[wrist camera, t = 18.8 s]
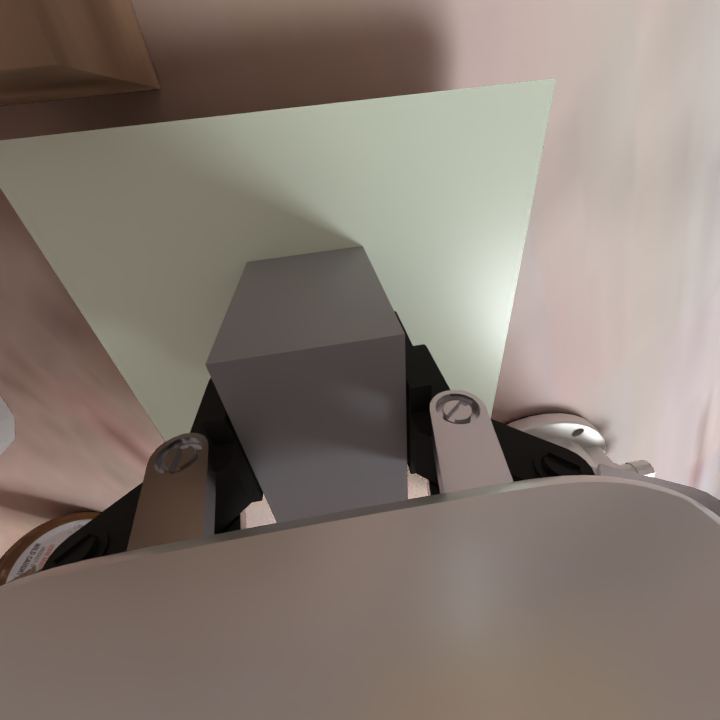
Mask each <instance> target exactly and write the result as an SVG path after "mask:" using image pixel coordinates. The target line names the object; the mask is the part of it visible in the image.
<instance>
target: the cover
mask: <svg viewBox="0 0 720 720" xmlns="http://www.w3.org/2000/svg"><path fill="white" fill-rule="evenodd" d="M555 83H556V78H553V79H544V80H535V81H526V82H518V83H509V84H500V85H491V86H482V87H473V88H464V89H455V90H446V91H437V92H428V93H419V94H410V95H401V96H392V97H384V98H375V99H366V100H357V101H348V102H339V103H330V104H321V105H312V106H303V107H294V108H285V109H276V110H267V111H258V112H249V113H241V114H232V115H223V116H214V117H205V118H196V119H187V120H178V121H169V122H160V123H151V124H142V125H133V126H124V127H115V128H107V129H98V130H89V131H80V132H71V133H62V134H53V135H44V136H35V137H26V138H17V139H8V140H0V189H1V190H2V192H3V193H4V195H5V196H6V198H7V199H8V201H9V202H10V204H11V205H12V207H13V209H14V210H15V212H16V213H17V215H18V216H19V218H20V219H21V221H22V222H23V224H24V225H25V227H26V228H27V230H28V232H29V233H30V235H31V236H32V238H33V239H34V241H35V242H36V244H37V245H38V247H39V248H40V250H41V252H42V253H43V255H44V256H45V258H46V259H47V261H48V262H49V264H50V265H51V267H52V268H53V270H54V272H55V273H56V275H57V276H58V278H59V279H60V281H61V282H62V284H63V285H64V287H65V288H66V290H67V292H68V293H69V295H70V296H71V298H72V299H73V301H74V302H75V304H76V305H77V307H78V308H79V310H80V311H81V313H82V315H83V316H84V318H85V319H86V321H87V322H88V324H89V325H90V327H91V328H92V330H93V331H94V333H95V335H96V336H97V338H98V339H99V341H100V342H101V344H102V345H103V347H104V348H105V350H106V351H107V353H108V355H109V356H110V358H111V359H112V361H113V362H114V364H115V365H116V367H117V368H118V370H119V371H120V373H121V374H122V376H123V378H124V379H125V381H126V382H127V384H128V385H129V387H130V388H131V390H132V391H133V393H134V394H135V396H136V398H137V399H138V401H139V402H140V404H141V405H142V407H143V408H144V410H145V411H146V413H147V414H148V416H149V418H150V419H151V421H152V422H153V424H154V425H155V427H156V428H157V430H158V431H159V433H160V434H161V436H162V438H163V439H164V441H165V442H166V441H168V440H170V439H171V438H173V437H176V436H178V435H181V434H186V433H190V431H191V428H192V425H193V422H194V420H195V417H196V414H197V412H198V409H199V406H200V403H201V401H202V398H203V395H204V393H205V390H206V387H207V384H208V382H209V380H210V378H212V381H213V383H214V385H215V387H216V389H217V392H218V394H219V396H220V398H221V401H222V403H223V405H224V407H225V409H226V412H227V414H228V416H229V418H230V420H231V423H232V425H233V427H234V429H235V431H236V434H237V436H238V438H239V440H240V442H241V445H242V447H243V449H244V451H245V453H246V456H247V458H248V460H249V462H250V464H251V467H252V469H253V471H254V473H255V475H256V478H257V480H258V482H259V484H260V486H261V489H262V491H263V493H264V495H265V497H266V500H267V502H268V504H269V506H270V508H271V511H272V513H273V515H274V517H275V519H276V522H277V523H280V522H285V521H291V520H296V519H302V518H307V517H313V516H318V515H324V514H330V513H335V512H341V511H346V510H352V509H357V508H363V507H368V506H374V505H380V504H385V503H391V502H397V501H402V500H408V487H407V426H406V366H405V333H404V331H403V329H402V327H401V325H400V323H399V320H398V318H397V316H396V314H395V312H394V311H396V312H397V314H398V316H399V318H400V320H401V322H402V324H403V326H404V328H405V330H406V333H407V335H408V337H409V339H410V341H411V343H412V345H413V346H415V345H422V344H425V345H426V346H427V348H428V350H429V351H430V353H431V355H432V357H433V359H434V361H435V362H436V364H437V366H438V368H439V370H440V372H441V373H442V375H443V377H444V379H445V381H446V383H447V384H448V386H449V388H450V390H462V391H465V392H469V393H471V394H473V395H475V396H477V397H478V398H479V399H480V400H482V401H483V403H484V405H485V406H486V408H487V411H488V414H489V417H490V419H491V415H492V410H493V405H494V399H495V394H496V389H497V384H498V379H499V373H500V368H501V363H502V358H503V353H504V347H505V342H506V337H507V332H508V327H509V321H510V316H511V311H512V306H513V301H514V296H515V290H516V285H517V280H518V275H519V270H520V264H521V259H522V254H523V249H524V244H525V238H526V233H527V228H528V223H529V218H530V212H531V207H532V202H533V197H534V192H535V186H536V181H537V176H538V171H539V166H540V160H541V155H542V150H543V145H544V140H545V135H546V129H547V124H548V119H549V114H550V109H551V103H552V98H553V93H554V88H555Z"/></svg>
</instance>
